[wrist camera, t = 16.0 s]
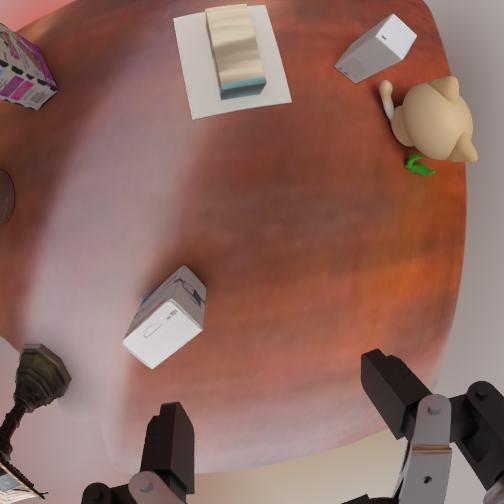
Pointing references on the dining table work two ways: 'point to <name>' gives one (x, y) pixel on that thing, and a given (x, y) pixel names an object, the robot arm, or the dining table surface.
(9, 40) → the candy bar box
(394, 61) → the skincare box
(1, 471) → the book lectern
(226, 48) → the birch block
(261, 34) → the mat
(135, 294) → the dining table surface
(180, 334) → the ink box
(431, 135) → the kitten
